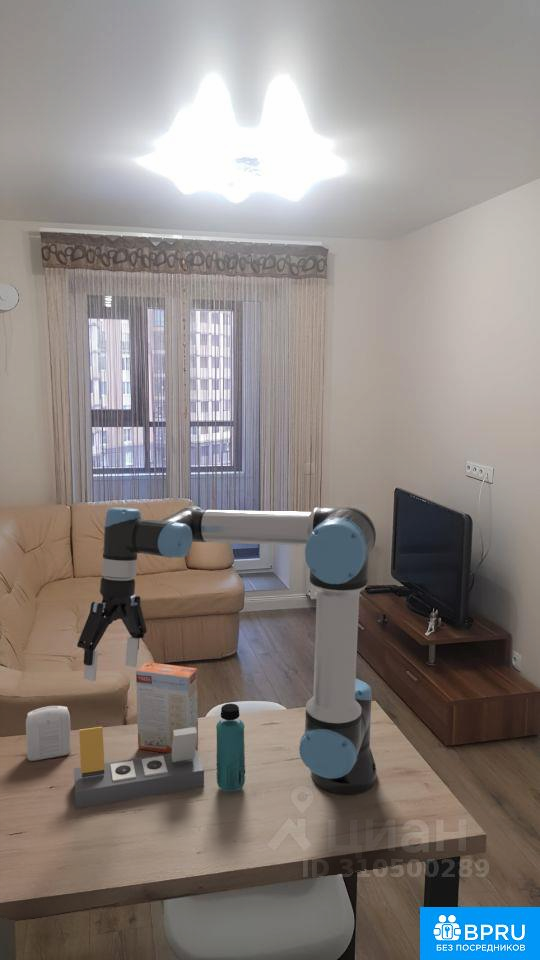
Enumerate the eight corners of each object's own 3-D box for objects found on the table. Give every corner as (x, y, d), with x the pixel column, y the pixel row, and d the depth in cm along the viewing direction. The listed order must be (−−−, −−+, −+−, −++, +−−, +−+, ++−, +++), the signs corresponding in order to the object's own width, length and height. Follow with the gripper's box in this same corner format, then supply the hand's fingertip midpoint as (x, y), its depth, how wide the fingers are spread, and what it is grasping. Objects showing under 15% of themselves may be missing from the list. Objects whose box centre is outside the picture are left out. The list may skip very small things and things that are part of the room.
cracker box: (199, 745, 174) (198, 667, 170) (189, 758, 168) (188, 677, 165) (148, 736, 178) (146, 659, 174) (137, 749, 172) (135, 669, 168)
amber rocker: (104, 773, 155) (102, 726, 157) (104, 774, 154) (102, 727, 156) (81, 776, 154) (79, 729, 156) (81, 778, 152) (79, 730, 154)
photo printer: (70, 746, 173) (68, 699, 171) (72, 755, 169) (70, 708, 167) (26, 754, 170) (24, 707, 167) (27, 763, 166) (24, 715, 163)
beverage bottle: (241, 800, 153) (241, 715, 149) (212, 796, 154) (211, 712, 150) (248, 782, 159) (248, 701, 155) (220, 778, 160) (219, 698, 157)
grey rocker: (192, 755, 161) (195, 726, 156) (194, 761, 160) (196, 732, 155) (171, 759, 160) (173, 730, 155) (172, 765, 159) (174, 736, 153)
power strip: (196, 764, 166) (196, 746, 165) (204, 786, 157) (203, 768, 157) (74, 784, 158) (73, 766, 157) (75, 808, 149) (75, 789, 148)
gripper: (140, 569, 167) (134, 657, 167) (64, 580, 145) (57, 681, 145) (166, 574, 163) (159, 663, 164) (91, 586, 141) (84, 689, 142)
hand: (111, 672), depth 154 cm, fingers open, 13 cm apart
